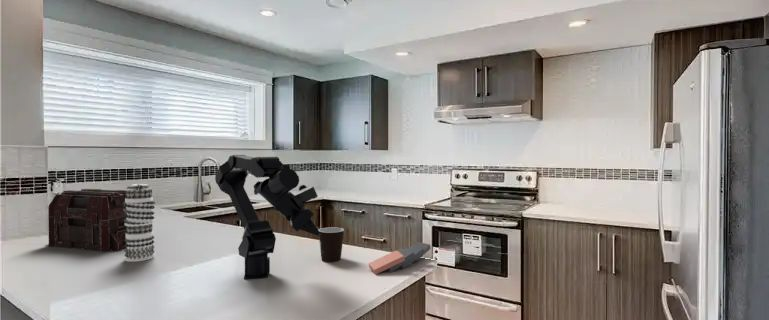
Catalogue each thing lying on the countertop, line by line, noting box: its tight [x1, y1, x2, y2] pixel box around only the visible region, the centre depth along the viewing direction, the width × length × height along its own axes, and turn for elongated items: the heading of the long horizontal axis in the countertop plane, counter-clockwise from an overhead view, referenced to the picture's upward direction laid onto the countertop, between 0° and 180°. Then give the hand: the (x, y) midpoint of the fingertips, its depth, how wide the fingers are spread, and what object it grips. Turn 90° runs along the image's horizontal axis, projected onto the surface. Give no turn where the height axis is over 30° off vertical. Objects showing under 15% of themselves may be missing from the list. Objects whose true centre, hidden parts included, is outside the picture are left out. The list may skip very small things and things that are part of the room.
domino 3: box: [398, 244, 424, 270], centre depth 123 cm, size 2×5×10 cm
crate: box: [47, 188, 127, 253], centre depth 150 cm, size 35×19×21 cm, turn 74°
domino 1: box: [368, 249, 405, 275], centre depth 117 cm, size 2×5×10 cm
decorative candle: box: [123, 183, 156, 263], centre depth 130 cm, size 9×9×25 cm
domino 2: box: [385, 248, 415, 273], centre depth 120 cm, size 2×5×10 cm
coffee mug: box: [318, 226, 345, 263], centre depth 130 cm, size 12×9×10 cm
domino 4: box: [413, 241, 432, 263], centre depth 130 cm, size 2×5×10 cm
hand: (318, 234), depth 110 cm, fingers closed
